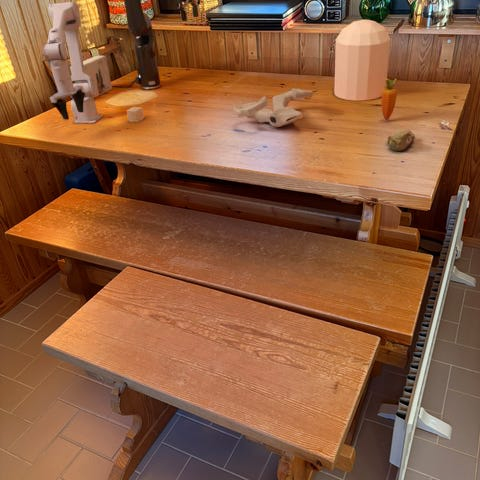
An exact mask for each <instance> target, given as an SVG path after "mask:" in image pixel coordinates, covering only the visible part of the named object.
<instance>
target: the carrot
mask: <svg viewBox="0 0 480 480" xmlns="http://www.w3.org/2000/svg"><path fill="white" fill-rule="evenodd" d="M397 81H398V78H395V79H394V80H393V82H391V79H390V78H387V79H386V89H384V90H383V91H382V96H381V97H380V98H381V100H380V101H381V102H380V104H381V112H382V113H381V114H382V117H383V119H384V120H385V121H386V122H388V121H389V119H390V118H391V117H392V114H393V112H394V109H395V106H396V101H397V96H398V95H397V94H398V91H397V89H395V88H394V86H395V85H396V83H397Z"/></svg>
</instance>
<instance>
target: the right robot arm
mask: <svg viewBox="0 0 480 480" xmlns="http://www.w3.org/2000/svg"><path fill="white" fill-rule="evenodd" d="M174 1H175V9H176V11H179V12H180V13H179V14H180V17H181V18H180V19H181V21H182V22H186V21H188V16H187V11H186V10H187V6H188V5H189V4H190V5H191V10H192V16H193V18H198V17H199V5H201V0H174ZM123 3H124V8H125V15H126V25H127V28H128V30H129V32H130V34H132V35H133V50H134V54H135V59H136V64H137V67H136V71H137V72H136V73H137V76H136V77H135V78H134V79H135V80H133V81H132V82H131V84H129V85H127V86H126V85H125V86H124V85H123V86H122V85H112V88H121V89H127V88H131V87H132V86H133V85H134V83H135V84H136V85H139V87H140V89H142V90H145V91H151V90H152V91H153V90H157V89H159V88H161V87H162V83H161V78H160V73H159V72H160V71H159V67H158V66H159V65H158V62H157V61H158V60H157V55H156V50H155V38H154V30H153V24H152V20H151V18H150V16H149V15H148V13H146V12H144V10H143V6H142V0H123Z"/></svg>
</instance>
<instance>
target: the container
mask: <svg viewBox="0 0 480 480" xmlns="http://www.w3.org/2000/svg"><path fill="white" fill-rule="evenodd" d="M335 38H336V39H335V47H334V49H335V52H334V53H335V55H334V87H333V89H334V94H333V95H334V96H335V97H337V98H339V99H342V100H345V101H357V102H358V101H370V100H375V99H378V98H382V91H383V90H384V89H386V88H387V87H386V85H387V83H386V79H388V71H389V70H388V69H389V68H388V67H389V58H390V48H391V37H390V35H389V33H388V31H387V29H386V28H385V26H384V25H382V24H380V23H379V22H377V21H375V20H371V19H359V20H354V21H352V22H351V23H349V24H348V25H347V26H345V27H344V28H342V29H341V31H340V32H339V34H338V35H337V37H335Z"/></svg>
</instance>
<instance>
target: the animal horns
mask: <svg viewBox="0 0 480 480" xmlns="http://www.w3.org/2000/svg"><path fill="white" fill-rule="evenodd" d="M313 93H314V92H313V91H312V90H307V89H302V88H292V89H291V90H289V91H286V92H283V93H281V94H277V95H275V96H272V102H271V103H272V107H273V109H272V110H271V109H266V108H265V107H267V106H268V98H267V96H266V95H264V96H262V97H261V98H260V99H259V100H258V101H257V102H256V101H251V102H246V103H240V104H234V105H232V106H231V107H232V108H231V109H232V112H233V113H234V115H235V116H237V118H244V117H246V118H248V119H252V120H257V122H259V123H269V124H270V126H272V127H274V128H280V127H284V126H287V125H290V124H294V123H296V121H298V120H301V119H302V112H301V111H300V110H297V109H295V108H294V107H291V106H288V105H289V103H290V102H292V101H299V100H308V101H310V100H311V99H312V97H313Z"/></svg>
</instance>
